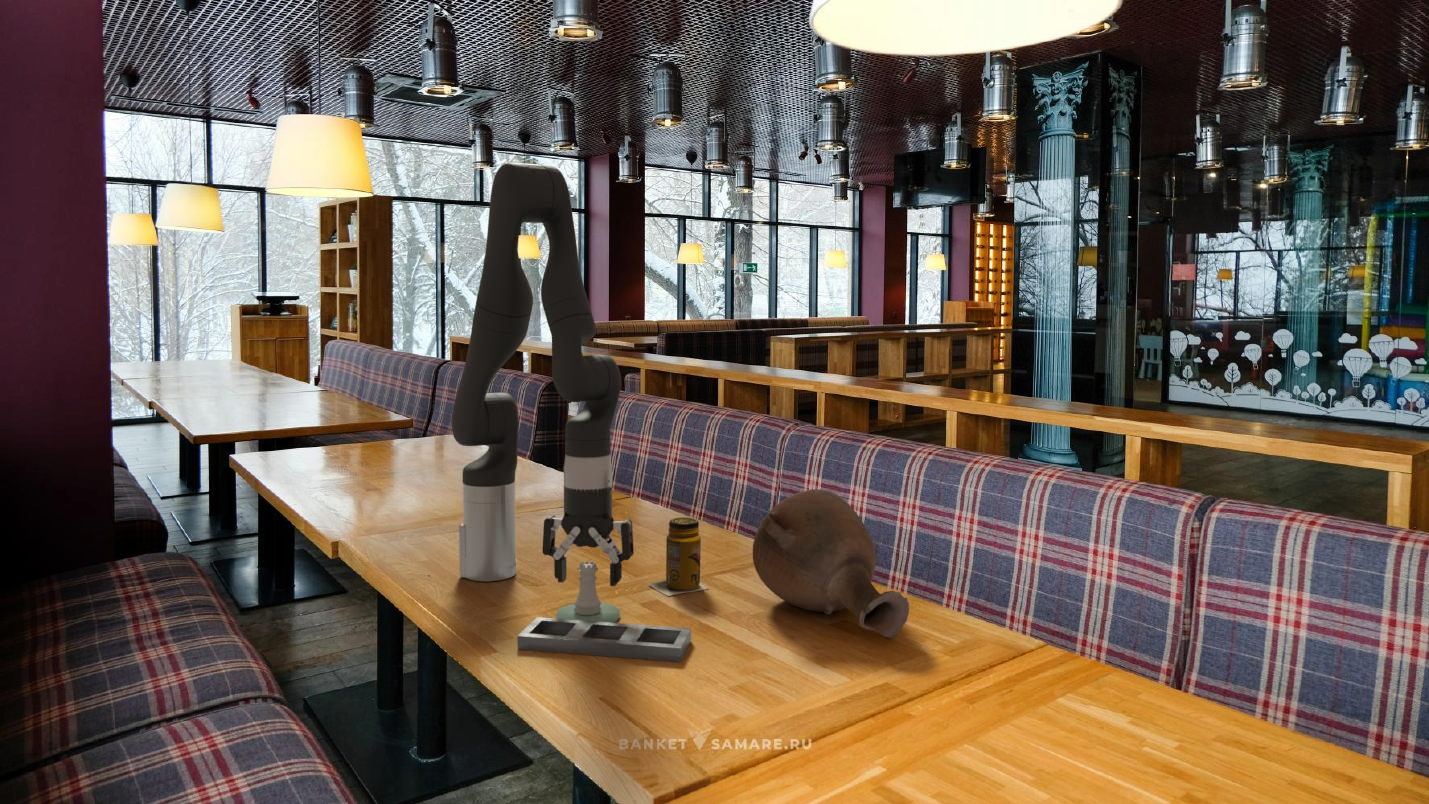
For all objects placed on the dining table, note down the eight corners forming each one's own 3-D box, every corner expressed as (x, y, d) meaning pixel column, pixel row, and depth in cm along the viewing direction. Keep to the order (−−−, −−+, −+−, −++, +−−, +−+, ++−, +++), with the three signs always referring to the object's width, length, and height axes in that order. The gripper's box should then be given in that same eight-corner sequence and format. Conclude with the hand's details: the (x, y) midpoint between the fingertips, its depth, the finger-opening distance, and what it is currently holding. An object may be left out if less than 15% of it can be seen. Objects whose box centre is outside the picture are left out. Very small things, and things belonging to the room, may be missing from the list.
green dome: (547, 625, 144) (547, 620, 144) (567, 604, 154) (567, 600, 154) (610, 630, 143) (610, 625, 142) (626, 608, 152) (626, 604, 152)
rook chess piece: (574, 607, 150) (574, 559, 149) (602, 607, 151) (602, 559, 150) (572, 616, 146) (572, 567, 145) (601, 616, 146) (601, 567, 145)
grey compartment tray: (517, 649, 134) (517, 635, 134) (536, 629, 142) (536, 617, 142) (680, 661, 131) (680, 648, 130) (691, 641, 138) (691, 628, 138)
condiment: (709, 589, 163) (710, 522, 162) (668, 597, 159) (668, 528, 157) (687, 578, 169) (688, 513, 168) (647, 585, 165) (647, 519, 163)
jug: (739, 591, 162) (832, 683, 136) (729, 490, 155) (825, 567, 130) (838, 556, 170) (943, 638, 144) (832, 459, 163) (942, 526, 137)
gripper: (536, 485, 143) (537, 587, 145) (626, 489, 141) (625, 593, 143) (552, 476, 151) (552, 573, 152) (638, 480, 148) (637, 578, 150)
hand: (588, 582), depth 148 cm, fingers open, 8 cm apart
